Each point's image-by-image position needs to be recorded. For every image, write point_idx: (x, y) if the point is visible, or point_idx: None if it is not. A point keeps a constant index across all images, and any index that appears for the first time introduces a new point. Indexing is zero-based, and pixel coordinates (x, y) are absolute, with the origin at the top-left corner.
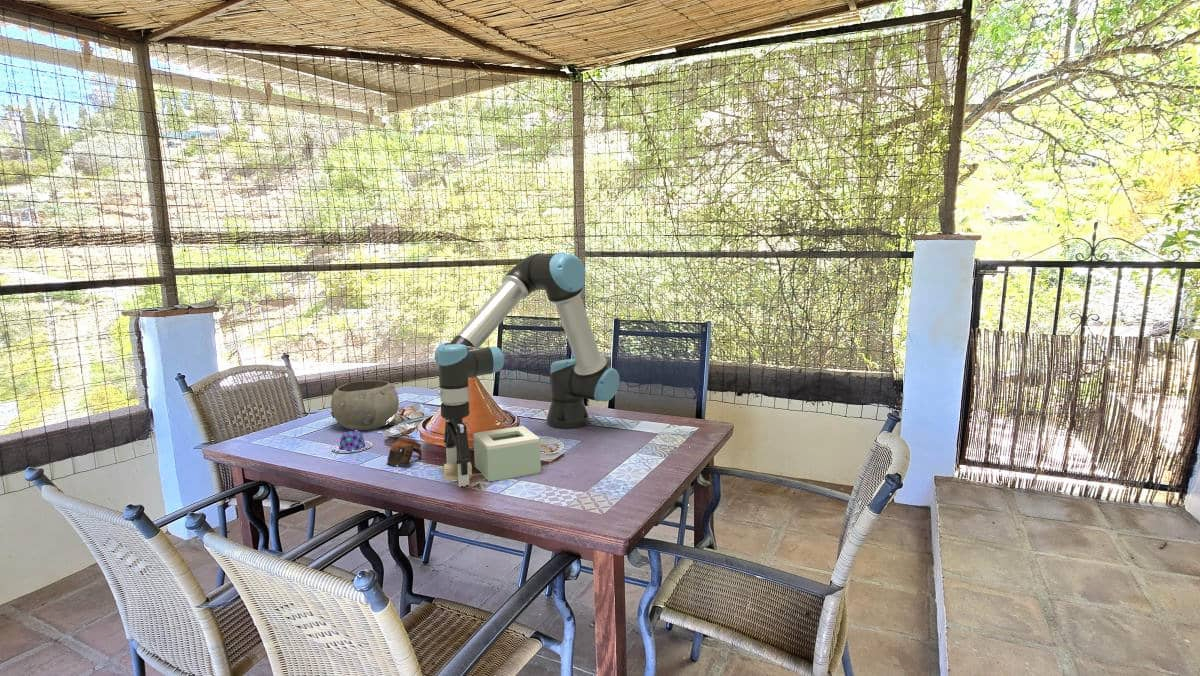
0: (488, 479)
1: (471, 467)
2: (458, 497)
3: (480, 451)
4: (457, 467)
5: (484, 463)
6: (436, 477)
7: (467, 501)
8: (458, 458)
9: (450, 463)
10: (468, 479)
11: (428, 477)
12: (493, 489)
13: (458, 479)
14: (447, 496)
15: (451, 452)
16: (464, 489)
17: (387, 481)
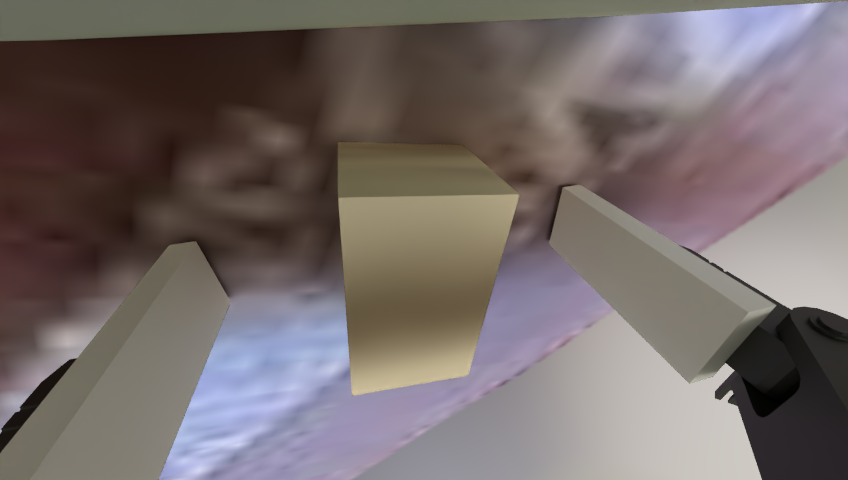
0: (635, 14)
1: (507, 187)
2: None
3: (457, 10)
4: (486, 310)
5: (626, 11)
6: (332, 343)
7: (731, 212)
8: (760, 424)
9: (356, 362)
10: (610, 208)
11: (318, 373)
12: (754, 20)
13: (580, 271)
14: None
15: (128, 444)
16: None
17: (320, 469)
